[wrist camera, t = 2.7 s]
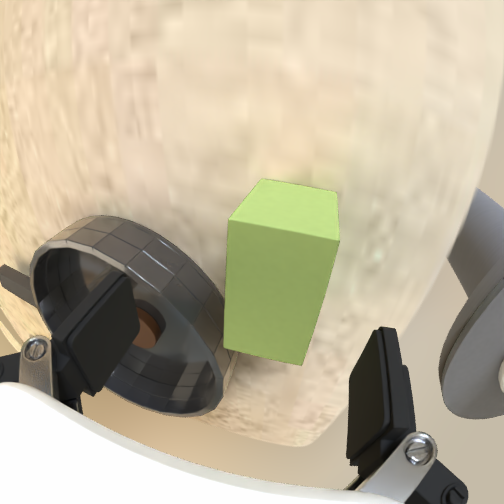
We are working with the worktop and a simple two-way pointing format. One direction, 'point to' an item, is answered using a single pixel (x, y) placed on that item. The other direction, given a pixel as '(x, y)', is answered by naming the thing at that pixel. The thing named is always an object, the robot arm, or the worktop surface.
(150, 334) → the brown disc
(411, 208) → the worktop surface
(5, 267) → the pan handle
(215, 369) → the pan
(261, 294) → the sponge
